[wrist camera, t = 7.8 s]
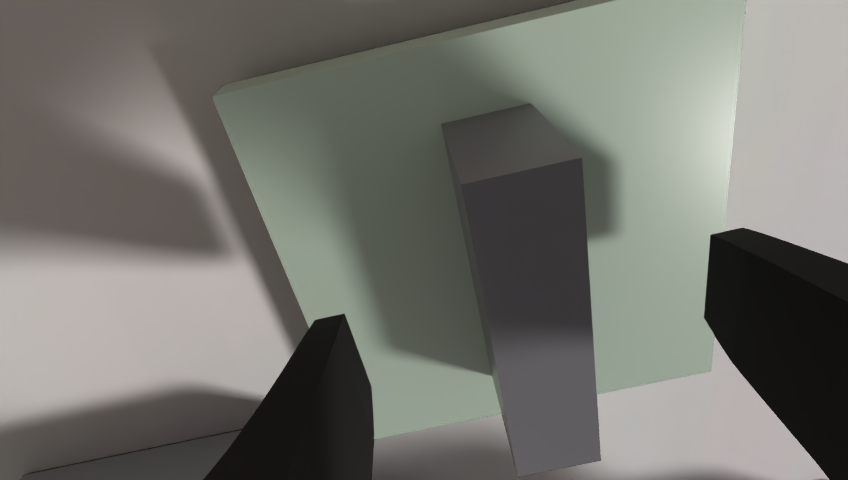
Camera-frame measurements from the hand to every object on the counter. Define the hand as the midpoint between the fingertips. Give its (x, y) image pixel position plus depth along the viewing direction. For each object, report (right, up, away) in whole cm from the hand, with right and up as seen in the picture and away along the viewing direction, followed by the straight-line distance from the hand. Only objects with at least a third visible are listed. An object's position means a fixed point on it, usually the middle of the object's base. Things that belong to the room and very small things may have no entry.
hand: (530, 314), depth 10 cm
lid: (0, +2, +3) cm, 4 cm away
